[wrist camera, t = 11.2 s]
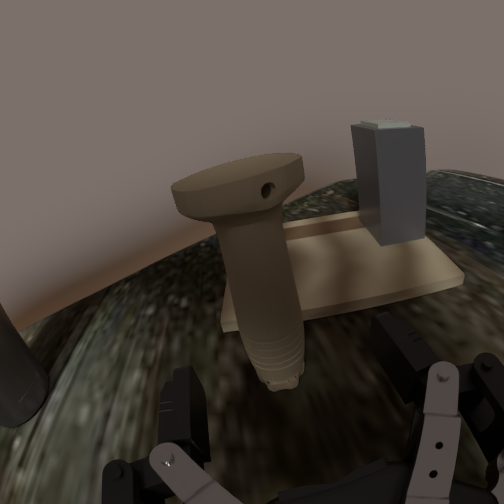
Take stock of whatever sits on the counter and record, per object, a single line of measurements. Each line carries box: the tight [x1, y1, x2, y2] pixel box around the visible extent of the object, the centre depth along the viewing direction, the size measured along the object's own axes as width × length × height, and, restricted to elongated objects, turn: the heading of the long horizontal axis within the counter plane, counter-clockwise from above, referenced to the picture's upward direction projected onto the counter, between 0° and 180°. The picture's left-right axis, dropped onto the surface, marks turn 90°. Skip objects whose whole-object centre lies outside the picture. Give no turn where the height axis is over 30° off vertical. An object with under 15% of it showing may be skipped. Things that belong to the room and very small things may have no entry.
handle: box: [171, 153, 305, 392], centre depth 17 cm, size 5×6×15 cm
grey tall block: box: [351, 119, 426, 246], centre depth 32 cm, size 6×8×14 cm
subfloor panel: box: [220, 211, 465, 332], centre depth 34 cm, size 24×20×1 cm
